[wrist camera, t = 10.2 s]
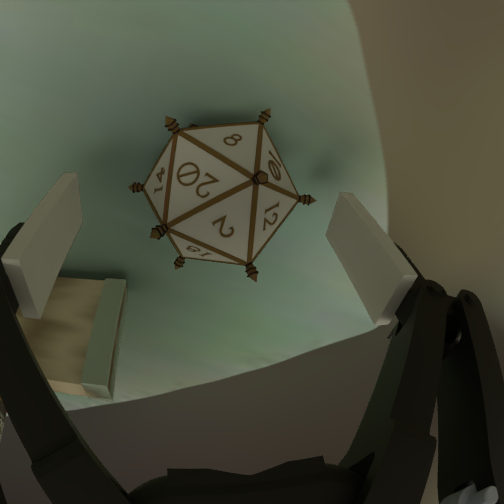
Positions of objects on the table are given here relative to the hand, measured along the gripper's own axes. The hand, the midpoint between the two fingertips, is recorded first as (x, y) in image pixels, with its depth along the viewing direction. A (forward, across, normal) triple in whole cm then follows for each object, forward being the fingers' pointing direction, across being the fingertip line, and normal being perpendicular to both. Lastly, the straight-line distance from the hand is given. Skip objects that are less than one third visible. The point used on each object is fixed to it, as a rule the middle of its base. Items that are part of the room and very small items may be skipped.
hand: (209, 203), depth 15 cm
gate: (+4, -12, -10) cm, 16 cm away
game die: (+5, +1, 0) cm, 5 cm away
